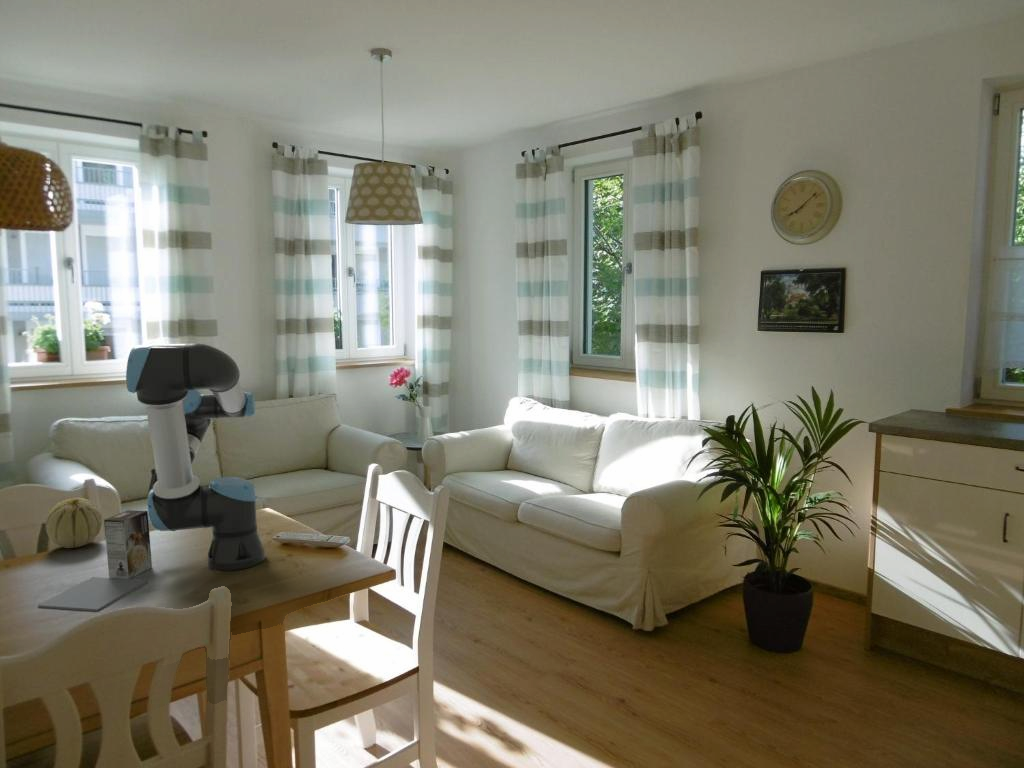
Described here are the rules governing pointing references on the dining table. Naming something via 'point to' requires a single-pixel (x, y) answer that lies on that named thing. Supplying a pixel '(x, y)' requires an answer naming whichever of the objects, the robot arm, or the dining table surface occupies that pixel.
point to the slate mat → (93, 594)
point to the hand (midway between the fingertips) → (149, 522)
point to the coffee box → (128, 544)
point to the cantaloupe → (73, 522)
